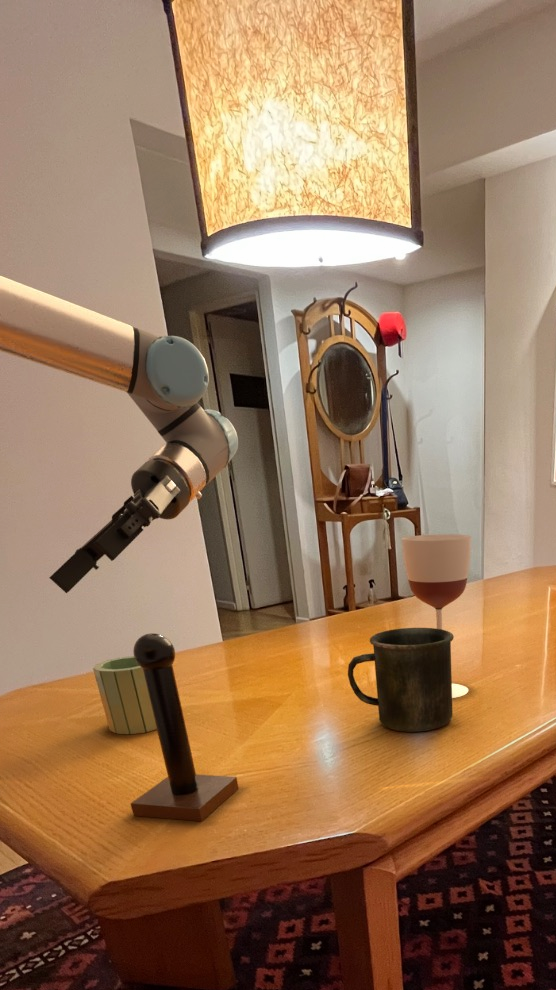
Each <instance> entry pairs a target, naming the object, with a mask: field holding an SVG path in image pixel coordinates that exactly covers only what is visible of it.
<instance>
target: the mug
mask: <svg viewBox="0 0 556 990" xmlns="http://www.w3.org/2000/svg"><path fill="white" fill-rule="evenodd" d="M454 638H455V636H454V634H453V632H451V631H448V630H445V629H443V628H442V629H437V627H436V628H435V627H404V628H394V629H388V630H384V631H380V632H377V633H375V634H373V635H372V636H371V637H370V638H369V643H370V644H371V645H372V646H373V653H363V654H359V655H356V656H354V657H353V658H352V659H351V661H349V663H348V667H347V678H348V682H349V685H350V687H351V689H352V691H353V693H354V695H355V696H356V697H357V698H358V699H359V701H360V702H363V703H364V704H366V705H370V706H377V709H378V719H379V722H380V723H381V724H382V725H383V726H384V727H385V728H386V729H390V730H392V731H397V732H409V733H410V732H413V733H415V732H425V731H431V730H436V729H440V728H442V727H444V726H446V725H447V724H449V723H450V721H451V719H452V718H453V713H454V712H453V698H452V683H453V680H452V678H453V677H452V646H451V645H452V644H451V643H452V641H453V640H454ZM365 662H374V668H375V670H374V671H375V683H376V694H377V695H376V696H377V697H372V696H369V695H366V693H364V692H363V691H362V690H361V688H360V687H359V686H358V684H357V682H356V680H355V676H354V670H355V668H356V667H357V665H359V664H362V663H365Z"/></svg>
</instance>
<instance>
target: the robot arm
mask: <svg viewBox="0 0 556 990" xmlns="http://www.w3.org/2000/svg"><path fill="white" fill-rule="evenodd" d="M0 352H1V353H5V354H8V355H11V356H14V357H17V358H21V359H23V360H26V361H29V362H33V363H36V364H39V365H41V366H45V367H48V368H51V369H54V370H58V371H59V372H63V373H66V374H70V375H72V376H75V377H79V378H81V379H85V380H88V381H90V382H94V383H97V384H101V385H104V386H106V387H110V388H113V389H116V390H119V391H122V392H124V393H127V394H128V396H129V397H130V398H131V400H132V401H133V402H134V403H135V405H136V406H137V407H138V409H139V410H140V411H141V412H142V413H143V415H144V416H145V418H147V420H148V421H149V422H150V424H151V425H152V426H153V428H154V429H155V430H156V431H157V433H158V434H159V435H160V437H161V438H162V439H163V441H165V443H164V444H163V445H162V446H161V447H160V448H159V449H158V450H157V451H156V452H154V453H153V454H152V455H151V456H149V458H148V459H147V461H145V462H144V463H143V464H142V465H141V466H140V467H139V468H137V469H136V471H134V472H133V474H132V475H131V478H130V486H131V491H132V493H133V495H130V496H129V497H128V498H127V499H126V500H125V501H124V502H123V505H122V506H121V507H120V508H118V510H117V511H115V512H114V513H113V514H112V516H111V520H110V521H109V522H108V523H106V524H105V525H104V526H103V527H102V528H101V529H100V530H98V531H97V533H95V534H94V535H93V536H92V537H91V538H90V539H89V540H88V541H87V542H85V543H84V544H83V545H82V546H80V547H79V548H77V549H76V550H75V552H74V554H72V555H71V556H70V557H69V558H68V559H67V560H66V561H64V563H63V564H62V565H61V566H60V567H59V568H58V569H56V571H54V572H53V573H52V574H51V575H50V576H49V577H48V578H49V579H50V580H51V581H52V582H53V583H54V584H55V585H56V586H58V587H59V588H60V589H61V590H62V592H64V593H65V594H68V593H69V592H70V591H71V590H72V589H73V588H74V587H75V586H76V585H77V584H79V582H80V581H81V580H82V579H83V578H84V577H85V576H86V575H87V574H89V572H90V571H91V570H92V569H94V570H95V571H97V570H98V569H100V566H99V565H98V561H99V560H101V558H103V557H104V556H106V557H107V558H108V559H109V560H110V561H111V562H113V561H114V560H116V559H117V557H119V556H120V554H122V553H123V552H124V550H125V549H126V548H128V546H129V545H130V544H132V542H133V541H135V539H136V538H137V537H138V536H139V535H140V534H141V533H142V532H143V531H144V528H146V527H147V528H148V527H149V526H150V525H151V524H152V522H153V521H154V520H158V519H161V520H167V521H168V520H173V519H175V518H177V517H178V516H179V515H180V514H181V513H182V512H183V511H184V510H185V509H186V507H188V506H189V504H190V503H191V502H192V501H193V500H194V499H197V500H200V499H201V498H202V497H203V494H202V493H201V491H203V489H205V487H206V486H207V485H209V484H210V482H212V480H213V479H214V478H215V477H216V476H218V474H219V473H221V471H223V469H224V468H226V467H227V466H228V464H229V463H230V461H231V460H232V459H233V458H234V456H235V455H236V453H237V451H238V448H239V438H238V437H239V436H238V434H237V431H236V429H235V427H234V425H233V424H232V422H231V421H230V419H228V418H227V417H225V416H223V415H222V413H221V412H220V411H218V410H214V409H211V408H209V409H207V408H206V409H204V408H203V407H202V406H201V405H200V404H199V401H200V400H201V399H202V398H203V397H204V396H205V394H206V393H207V390H208V387H209V383H210V376H209V367H208V365H207V362H206V360H205V357H204V356H203V354H202V353H201V352H200V350H199V349H198V348H197V346H196V345H194V343H192V342H191V341H189V340H187V339H185V338H184V337H181V336H177V335H163V336H159V335H157V334H154V333H152V332H148V331H146V330H143V329H140V328H137V327H134V326H132V325H130V324H127V323H125V322H123V321H120V320H118V319H114V318H112V317H109V316H107V315H104V314H101V313H99V312H97V311H94V310H91V309H88V308H86V307H84V306H81V305H78V304H76V303H73V302H70V301H68V300H65V299H62V298H60V297H57V296H54V295H52V294H49V293H46V292H43V291H42V290H39V289H36V288H34V287H31V286H28V285H26V284H23V283H20V282H18V281H16V280H12V279H10V278H7V277H4V276H2V275H0ZM142 527H143V528H142Z"/></svg>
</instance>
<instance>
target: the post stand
mask: <svg viewBox="0 0 556 990" xmlns="http://www.w3.org/2000/svg"><path fill="white" fill-rule="evenodd" d="M132 651H133V656H134V658H135V660H136V662H137V663H138V664H139V666H140V667H142V668H143V672H144V677H145V681H146V685H147V689H148V694H149V698H150V702H151V706H152V711H153V715H154V719H155V723H156V728H157V729H156V731H157V736H158V740H159V744H160V748H161V749H160V750H161V752H162V757H163V762H164V766H165V769H166V774H167V776H166V777H165V778H163V780H161V781H160V782H158V783H157V784H156V785H154V786H153V787H152V788H150V789H149V790H147V791H146V792H144V793H143V794H141V795H140V796H139V797H137V798H136V799H135V800H133V801H132V802H130V807H131V811H132V814H133V816H134V817H145V818H154V819H155V818H156V819H167V820H179V821H180V820H181V821H192V822H203V821H204V820H205V819H206V818H208V816H209V815H210V814H212V813H214V811H215V810H216V809H217V808H218V807H219V806H221V805H222V804H223V803H225V802H226V800H228V799H229V798H230V797H231V796H232V795H233V794H234V793H236V791H238V790H239V784H238V778H237V776H228V775H227V776H226V775H214V774H213V775H212V774H211V775H210V774H197V772H196V768H195V763H194V759H193V753H192V749H191V744H190V740H189V739H190V738H189V735H188V731H187V728H186V722H185V721H186V720H185V717H184V712H183V708H182V702H181V698H180V694H179V689H178V685H177V679H176V675H175V671H174V666H173V664H174V662H175V660H176V649H175V646H174V645H173V643H172V642H171V641H170V639H169V638H167V637H166V636H164V635H162V634H159V633H152V632H151V633H146V634H143V635H141V636H140V637H138V639H137V640H136V641H135V643H134V645H133V650H132Z"/></svg>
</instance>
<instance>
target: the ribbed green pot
mask: <svg viewBox="0 0 556 990" xmlns="http://www.w3.org/2000/svg"><path fill="white" fill-rule="evenodd" d="M92 670H93V673H94V677H95V681H96V685H97V688H98V692H99V696H100V699H101V703H102V707H103V711H104V714H105V718H106V723H107V725H108V729H109V731H110V732H112V733H113V734H117V735H137V734H145V733H149V732H152V731H155V730H156V731H157V728H156V723H155V719H154V715H153V711H152V706H151V702H150V698H149V694H148V689H147V685H146V681H145V677H144V672H143V668H142V667H140V666H139V664H138V663H137V662H136V660H135V658H134V655H130V656H129V655H128V656H121V657H115V658H111V659H105V660H103V661H100V662H97V663H95V664H94V665H93V668H92Z"/></svg>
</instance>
